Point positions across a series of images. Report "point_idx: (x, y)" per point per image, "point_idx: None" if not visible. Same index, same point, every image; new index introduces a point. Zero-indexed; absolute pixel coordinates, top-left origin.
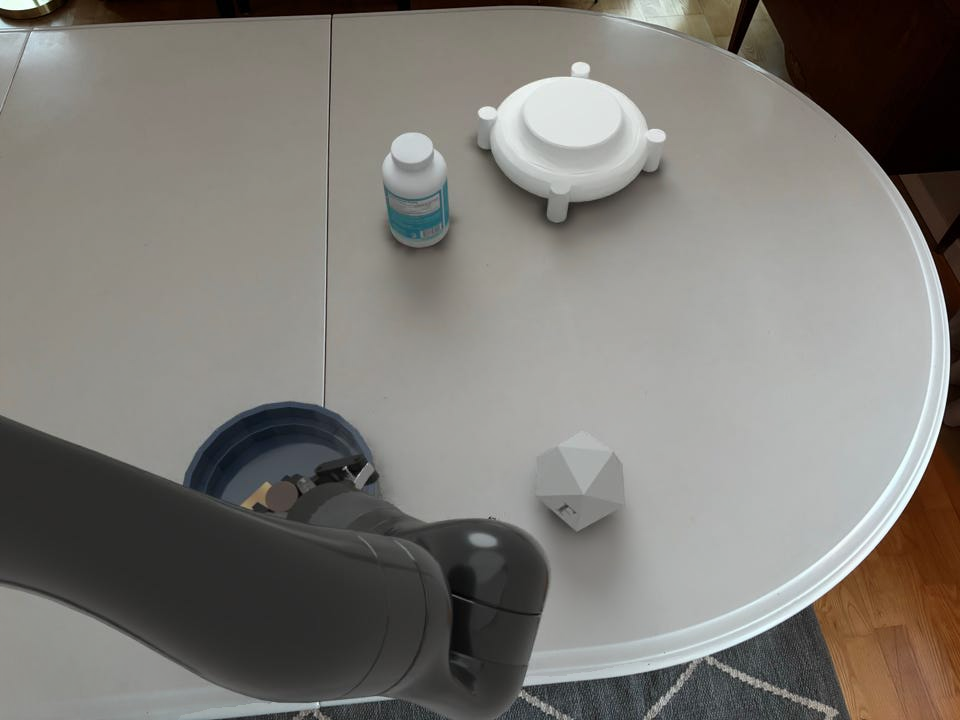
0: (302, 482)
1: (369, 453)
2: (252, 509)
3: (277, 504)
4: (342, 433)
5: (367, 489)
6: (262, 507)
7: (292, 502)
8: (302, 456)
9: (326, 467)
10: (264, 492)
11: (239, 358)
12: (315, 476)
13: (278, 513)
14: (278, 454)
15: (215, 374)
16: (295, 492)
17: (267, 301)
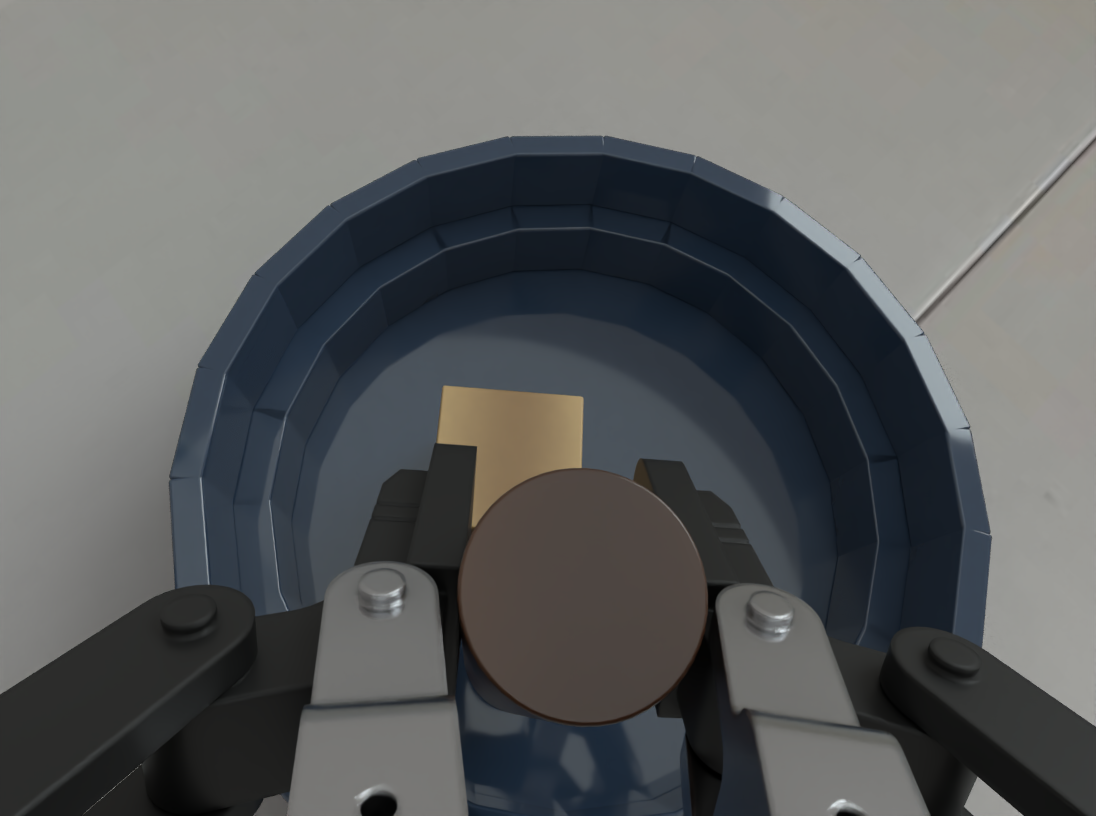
0: (770, 637)
1: None
2: (467, 432)
3: (520, 609)
4: (898, 483)
5: None
6: (455, 507)
7: (606, 694)
8: (720, 425)
9: (1038, 745)
10: (546, 420)
11: (784, 94)
12: (856, 666)
13: (426, 809)
14: (670, 360)
15: (707, 78)
16: (677, 649)
17: (944, 49)
